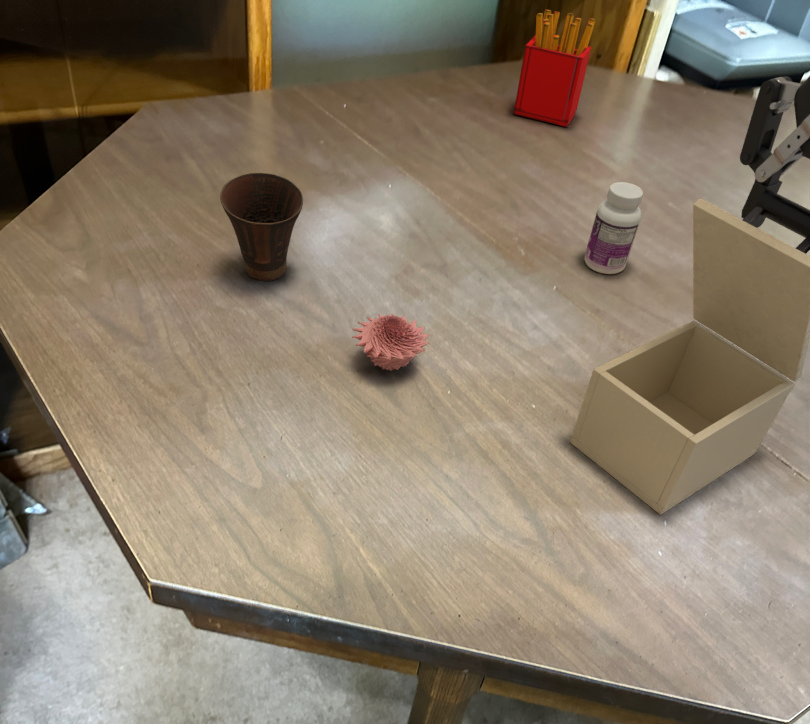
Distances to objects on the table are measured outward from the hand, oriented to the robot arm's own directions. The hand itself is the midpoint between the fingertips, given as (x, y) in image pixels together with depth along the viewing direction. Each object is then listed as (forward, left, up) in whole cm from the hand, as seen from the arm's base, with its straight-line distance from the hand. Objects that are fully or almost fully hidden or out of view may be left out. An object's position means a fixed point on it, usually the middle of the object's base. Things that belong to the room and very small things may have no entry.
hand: (785, 243), depth 63 cm
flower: (+20, -25, -20) cm, 38 cm away
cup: (+22, -46, -20) cm, 55 cm away
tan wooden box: (+5, 0, -20) cm, 21 cm away
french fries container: (-43, -65, -20) cm, 80 cm away
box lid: (+2, 0, -4) cm, 5 cm away
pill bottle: (-16, -27, -20) cm, 37 cm away
